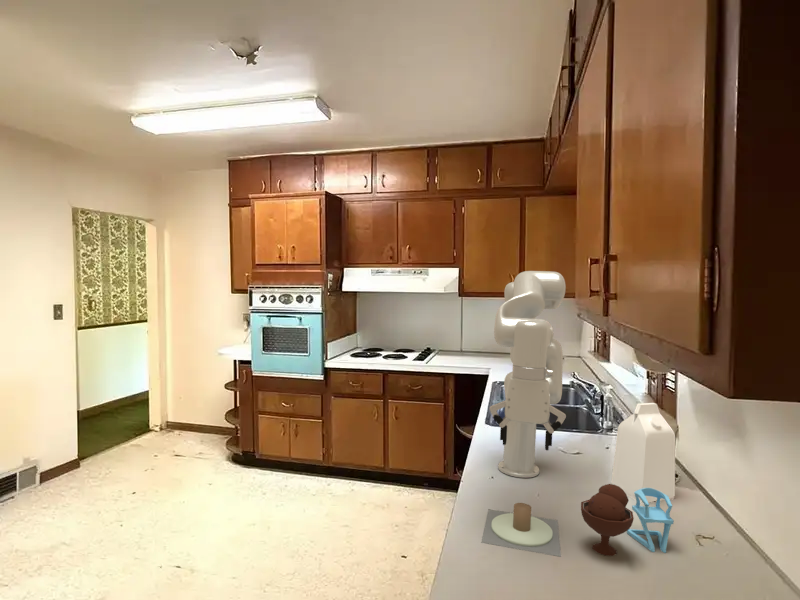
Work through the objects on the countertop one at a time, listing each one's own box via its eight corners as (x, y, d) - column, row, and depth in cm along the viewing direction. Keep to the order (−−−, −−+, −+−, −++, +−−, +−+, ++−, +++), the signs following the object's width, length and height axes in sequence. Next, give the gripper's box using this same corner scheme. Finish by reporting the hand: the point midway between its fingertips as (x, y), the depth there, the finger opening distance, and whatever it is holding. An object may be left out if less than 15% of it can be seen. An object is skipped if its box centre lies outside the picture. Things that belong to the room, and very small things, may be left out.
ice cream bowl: (586, 533, 115) (590, 471, 114) (637, 551, 108) (641, 485, 107) (570, 551, 107) (574, 485, 106) (624, 572, 100) (628, 501, 99)
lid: (493, 512, 123) (494, 490, 123) (551, 521, 119) (552, 498, 119) (488, 540, 109) (489, 515, 109) (553, 551, 106) (554, 525, 105)
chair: (641, 551, 108) (644, 499, 108) (626, 532, 116) (629, 483, 116) (676, 554, 108) (680, 501, 107) (658, 534, 116) (662, 485, 116)
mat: (488, 511, 125) (488, 508, 125) (557, 522, 120) (557, 520, 120) (481, 544, 108) (481, 542, 108) (560, 559, 104) (561, 556, 104)
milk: (642, 482, 147) (647, 398, 146) (674, 499, 136) (680, 408, 135) (610, 486, 143) (615, 399, 143) (641, 503, 133) (646, 410, 132)
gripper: (566, 374, 114) (563, 445, 115) (492, 368, 119) (489, 437, 119) (568, 379, 107) (565, 456, 108) (490, 372, 112) (486, 446, 112)
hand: (525, 445), depth 113 cm, fingers open, 9 cm apart
